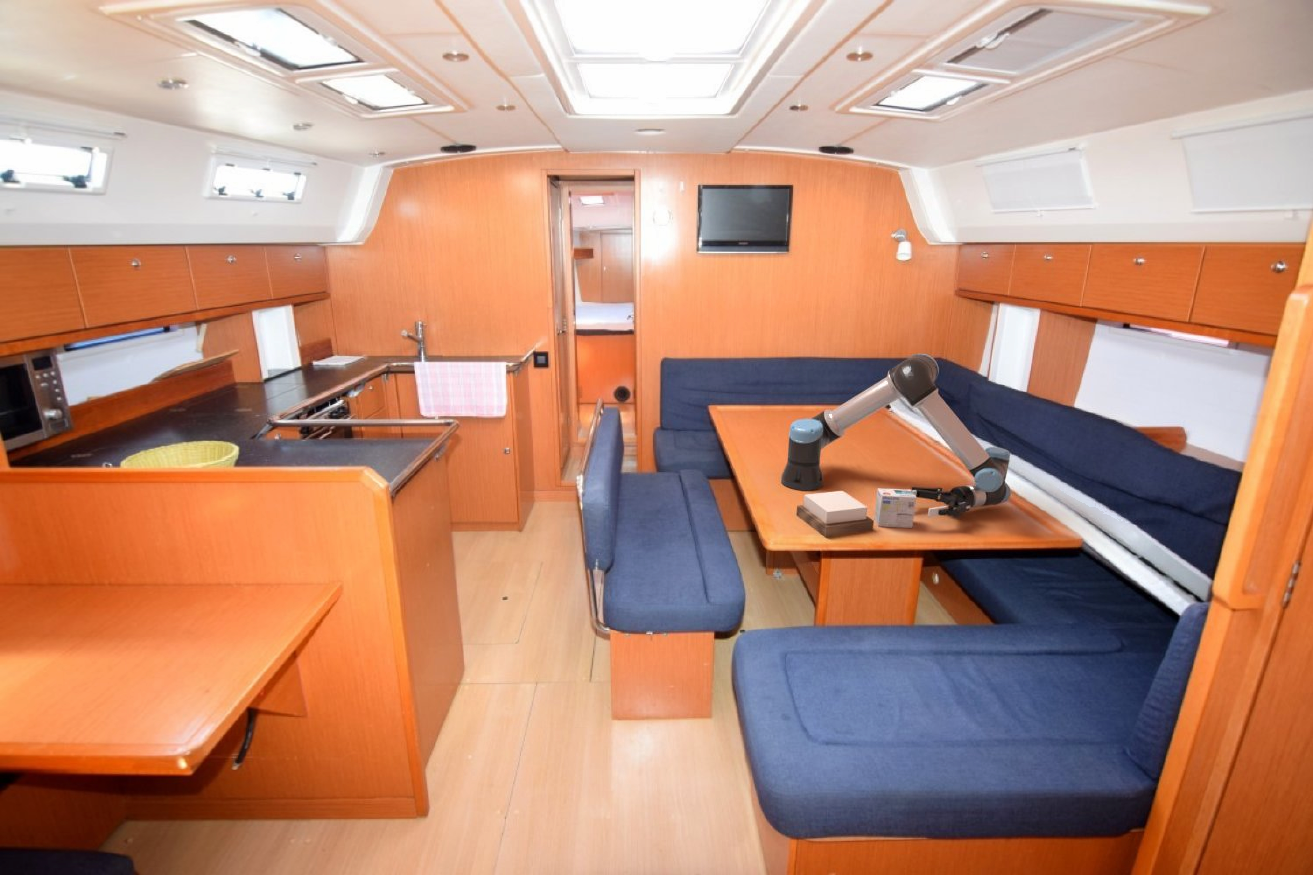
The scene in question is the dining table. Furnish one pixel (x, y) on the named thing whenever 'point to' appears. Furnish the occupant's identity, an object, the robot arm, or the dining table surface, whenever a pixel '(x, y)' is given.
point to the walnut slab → (834, 524)
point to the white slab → (835, 507)
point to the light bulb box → (895, 508)
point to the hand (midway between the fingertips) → (913, 504)
